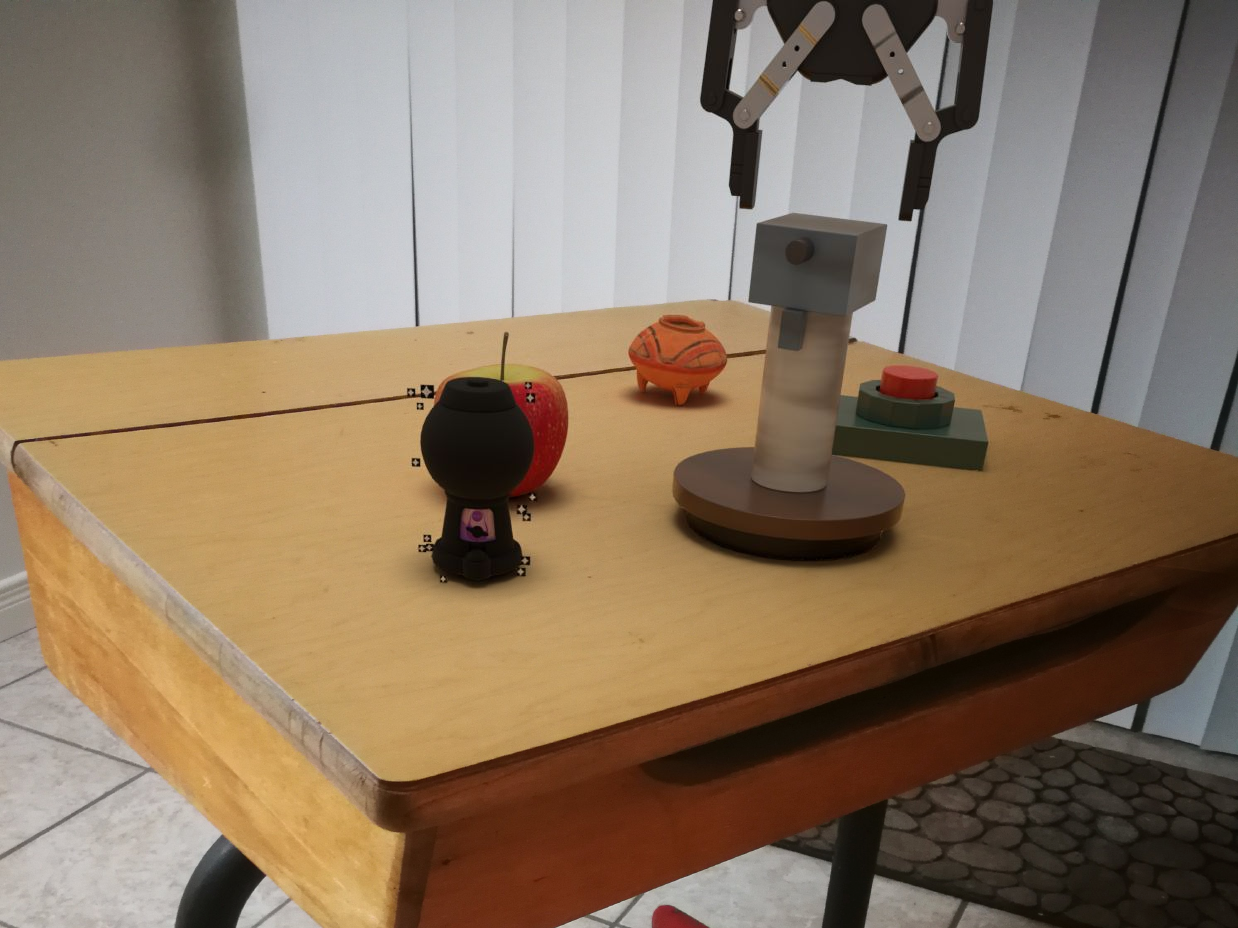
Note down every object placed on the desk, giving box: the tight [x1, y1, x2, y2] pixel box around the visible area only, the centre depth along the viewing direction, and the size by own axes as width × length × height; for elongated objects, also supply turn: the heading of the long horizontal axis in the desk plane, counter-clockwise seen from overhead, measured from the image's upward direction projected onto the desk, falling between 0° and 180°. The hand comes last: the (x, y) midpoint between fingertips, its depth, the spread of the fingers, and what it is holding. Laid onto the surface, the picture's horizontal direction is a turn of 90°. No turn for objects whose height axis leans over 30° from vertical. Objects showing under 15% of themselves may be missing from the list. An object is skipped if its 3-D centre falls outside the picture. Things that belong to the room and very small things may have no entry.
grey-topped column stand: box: [671, 212, 906, 540], centre depth 73 cm, size 14×14×15 cm
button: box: [879, 365, 939, 400], centre depth 93 cm, size 4×4×2 cm
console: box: [832, 379, 989, 472], centre depth 94 cm, size 12×9×4 cm
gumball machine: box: [406, 377, 538, 584], centre depth 67 cm, size 7×6×10 cm
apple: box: [433, 331, 569, 498], centre depth 78 cm, size 8×8×10 cm
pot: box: [627, 314, 728, 406], centre depth 102 cm, size 8×8×7 cm
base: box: [685, 511, 883, 562], centre depth 78 cm, size 12×12×1 cm
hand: (824, 213), depth 69 cm, fingers open, 8 cm apart
